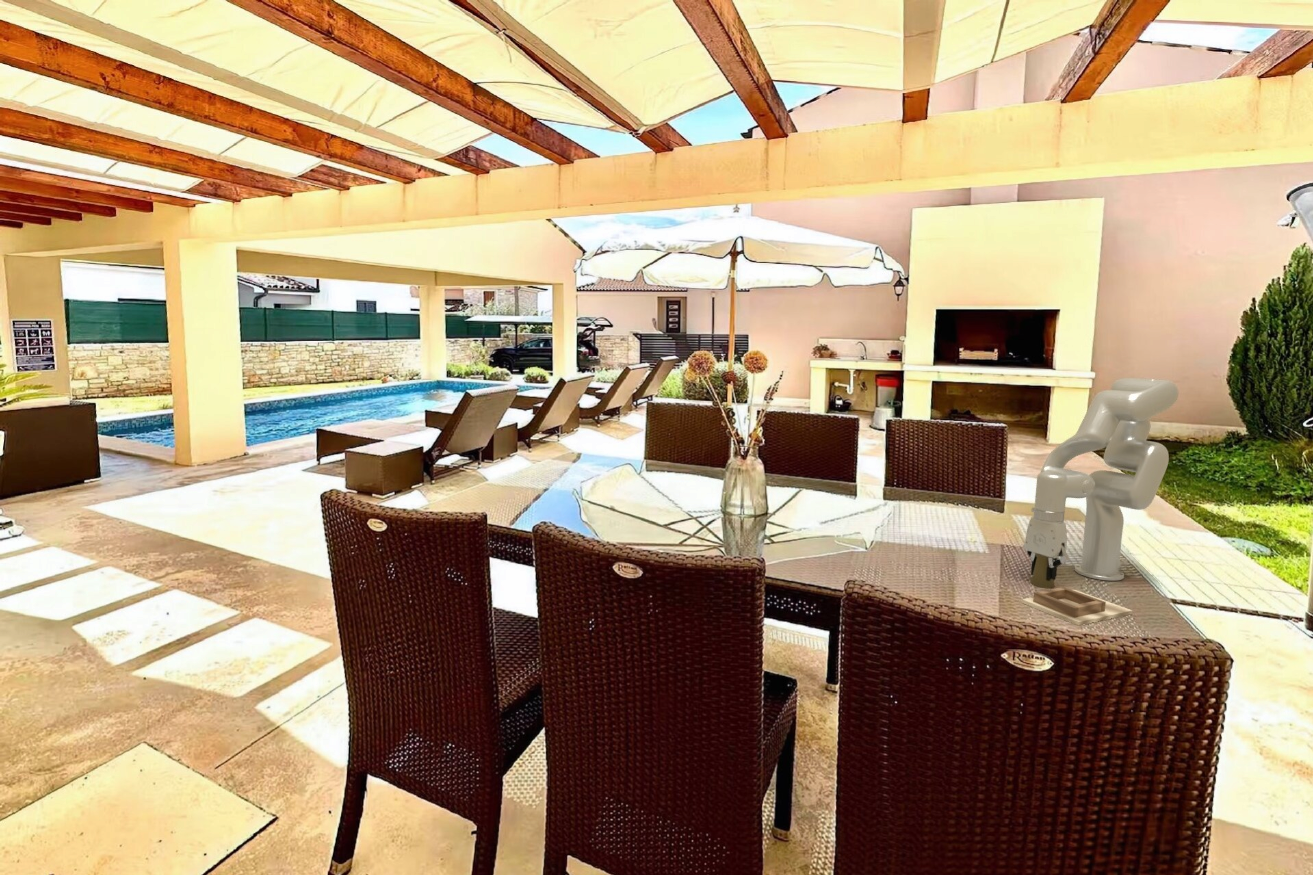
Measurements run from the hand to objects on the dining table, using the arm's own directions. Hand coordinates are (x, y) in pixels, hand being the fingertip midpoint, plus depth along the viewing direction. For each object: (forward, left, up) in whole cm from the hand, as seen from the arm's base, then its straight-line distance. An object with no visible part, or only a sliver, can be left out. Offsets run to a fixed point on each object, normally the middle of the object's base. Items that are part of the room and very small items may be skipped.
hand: (1043, 576), depth 196 cm
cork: (0, 0, -2) cm, 2 cm away
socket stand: (+8, +16, -2) cm, 18 cm away
